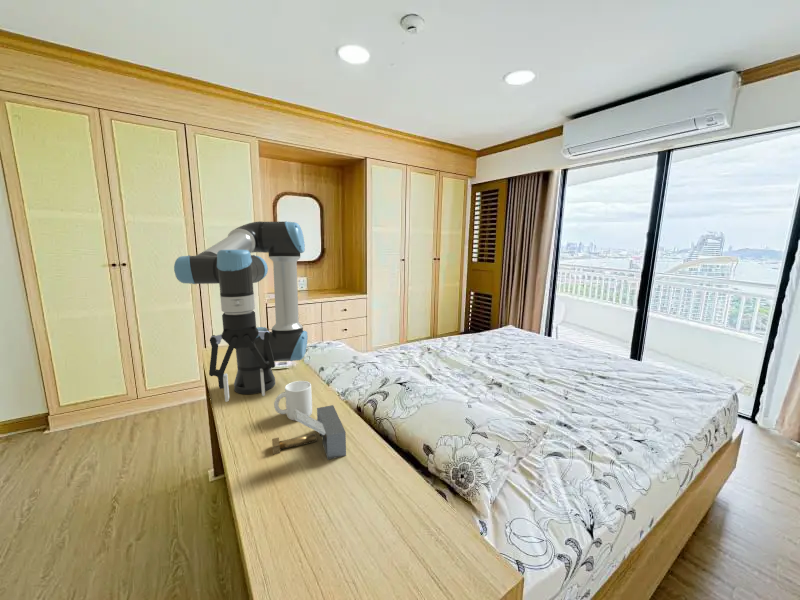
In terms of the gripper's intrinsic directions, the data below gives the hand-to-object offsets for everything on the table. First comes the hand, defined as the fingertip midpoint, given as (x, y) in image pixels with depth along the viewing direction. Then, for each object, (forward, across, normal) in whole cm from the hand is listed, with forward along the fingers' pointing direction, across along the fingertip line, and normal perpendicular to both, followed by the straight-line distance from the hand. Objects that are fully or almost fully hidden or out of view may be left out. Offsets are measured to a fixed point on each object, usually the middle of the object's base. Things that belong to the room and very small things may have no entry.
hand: (245, 396), depth 87 cm
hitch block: (+17, +22, -2) cm, 28 cm away
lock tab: (+7, +15, -7) cm, 18 cm away
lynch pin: (+17, +12, 0) cm, 21 cm away
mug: (+17, +13, +17) cm, 28 cm away
